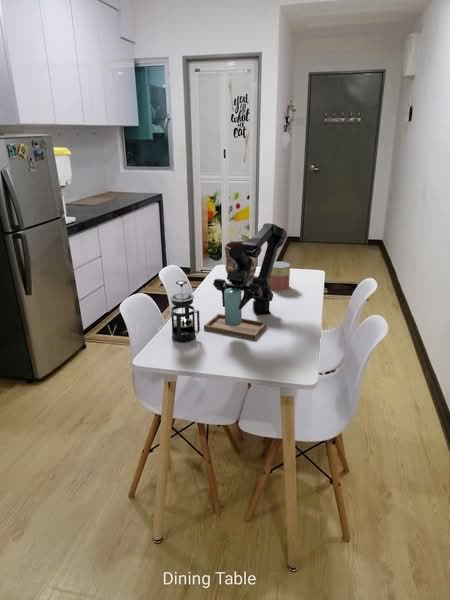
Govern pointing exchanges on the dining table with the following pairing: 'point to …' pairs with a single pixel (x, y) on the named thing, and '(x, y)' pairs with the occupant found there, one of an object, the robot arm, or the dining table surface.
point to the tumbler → (232, 307)
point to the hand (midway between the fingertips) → (231, 308)
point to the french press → (183, 323)
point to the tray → (236, 327)
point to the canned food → (280, 276)
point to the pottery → (229, 262)
